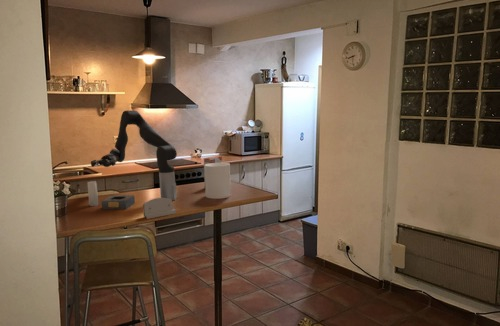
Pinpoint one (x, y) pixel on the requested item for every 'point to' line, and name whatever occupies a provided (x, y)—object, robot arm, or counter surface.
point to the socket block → (118, 202)
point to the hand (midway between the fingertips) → (99, 165)
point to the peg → (92, 193)
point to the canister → (217, 180)
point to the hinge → (158, 207)
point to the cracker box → (212, 161)
